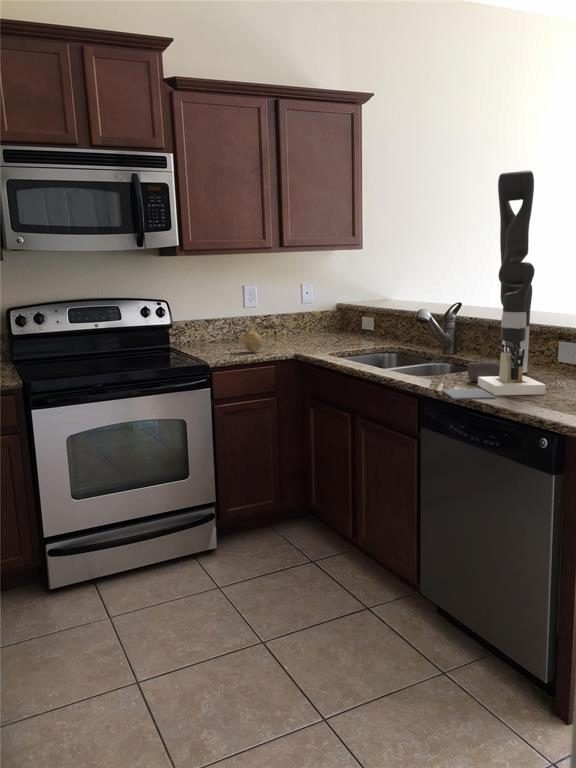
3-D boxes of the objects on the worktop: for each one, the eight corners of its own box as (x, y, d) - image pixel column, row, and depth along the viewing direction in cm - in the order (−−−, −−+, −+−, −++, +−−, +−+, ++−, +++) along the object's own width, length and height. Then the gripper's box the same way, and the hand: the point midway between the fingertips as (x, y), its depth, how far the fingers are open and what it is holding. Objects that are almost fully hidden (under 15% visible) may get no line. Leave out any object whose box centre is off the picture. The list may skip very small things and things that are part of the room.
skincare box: (507, 391, 209) (509, 354, 206) (497, 389, 213) (499, 352, 210) (522, 390, 211) (524, 352, 209) (513, 387, 215) (515, 350, 213)
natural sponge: (238, 352, 302) (238, 331, 301) (253, 350, 308) (253, 329, 306) (250, 354, 296) (250, 332, 294) (265, 352, 301) (265, 331, 300)
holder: (477, 385, 219) (478, 376, 219) (524, 384, 220) (524, 375, 220) (494, 395, 204) (495, 385, 203) (545, 394, 205) (545, 384, 204)
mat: (441, 391, 211) (441, 389, 211) (480, 390, 212) (481, 388, 212) (453, 399, 199) (453, 398, 199) (495, 398, 199) (495, 396, 199)
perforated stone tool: (496, 378, 233) (497, 358, 231) (506, 380, 228) (507, 360, 226) (461, 381, 227) (462, 361, 226) (471, 384, 223) (471, 363, 221)
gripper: (493, 323, 215) (491, 374, 218) (510, 328, 201) (507, 382, 204) (516, 323, 215) (513, 373, 218) (534, 327, 201) (531, 381, 204)
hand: (510, 377), depth 211 cm, fingers closed on skincare box, 5 cm apart
